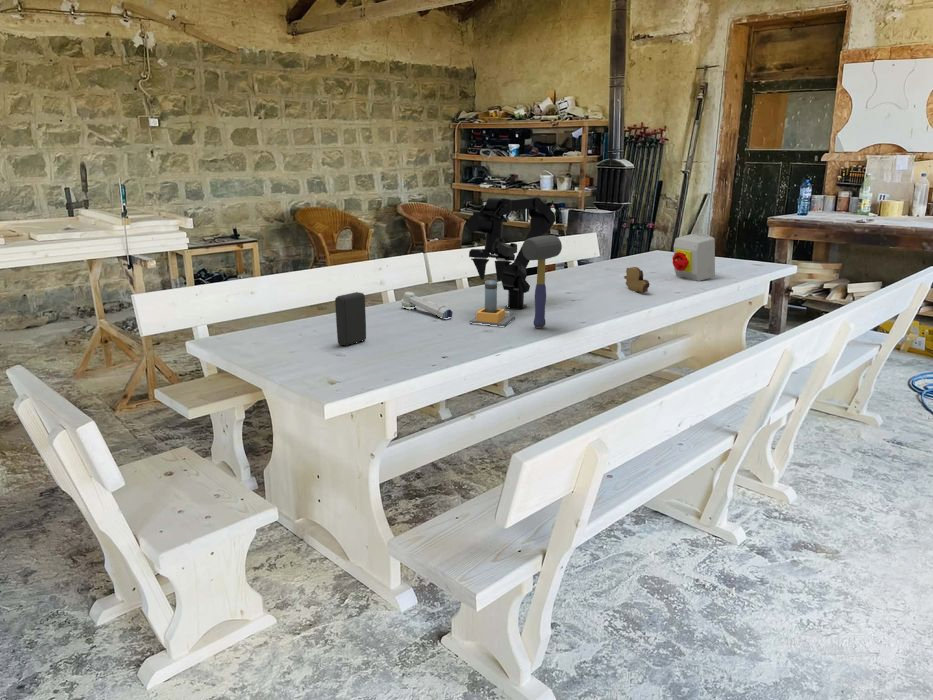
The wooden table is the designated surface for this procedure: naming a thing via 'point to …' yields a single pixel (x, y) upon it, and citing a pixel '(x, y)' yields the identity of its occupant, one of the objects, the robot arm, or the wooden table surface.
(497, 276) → the robot arm
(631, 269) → the wooden carving
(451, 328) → the wooden table surface
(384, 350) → the wooden table surface
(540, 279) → the rubber mallet
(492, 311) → the plug
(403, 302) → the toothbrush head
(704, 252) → the electrical switch box
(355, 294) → the black upright block
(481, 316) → the panel
